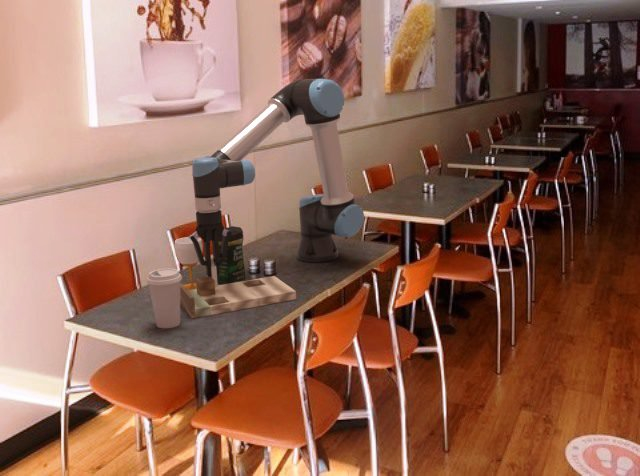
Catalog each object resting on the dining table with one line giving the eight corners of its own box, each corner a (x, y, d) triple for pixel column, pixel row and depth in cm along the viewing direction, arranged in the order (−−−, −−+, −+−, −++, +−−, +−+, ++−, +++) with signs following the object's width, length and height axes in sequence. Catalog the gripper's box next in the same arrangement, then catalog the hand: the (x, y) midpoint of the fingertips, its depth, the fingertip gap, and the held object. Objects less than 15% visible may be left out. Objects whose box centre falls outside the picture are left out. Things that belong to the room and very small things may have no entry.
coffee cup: (153, 319, 193) (148, 268, 190) (187, 316, 194) (183, 266, 190) (148, 331, 184) (142, 278, 180) (184, 329, 185) (179, 276, 181)
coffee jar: (230, 288, 218) (226, 232, 213) (212, 284, 222) (208, 229, 218) (250, 280, 225) (247, 225, 221) (232, 277, 230) (229, 223, 225)
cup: (172, 289, 219) (167, 241, 215) (195, 282, 226) (191, 235, 222) (189, 294, 213) (185, 245, 209) (212, 287, 220) (208, 239, 216)
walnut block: (211, 290, 209) (210, 276, 208) (215, 294, 205) (214, 280, 204) (196, 292, 207) (195, 278, 206) (200, 296, 203) (199, 282, 202)
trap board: (274, 283, 222) (273, 265, 220) (296, 299, 206) (295, 280, 204) (177, 300, 209) (175, 281, 207) (192, 318, 193) (190, 298, 191)
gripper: (190, 215, 196) (196, 292, 202) (233, 209, 201) (238, 285, 207) (183, 210, 203) (190, 285, 209) (225, 205, 208) (230, 279, 214)
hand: (214, 285), depth 208 cm, fingers closed
